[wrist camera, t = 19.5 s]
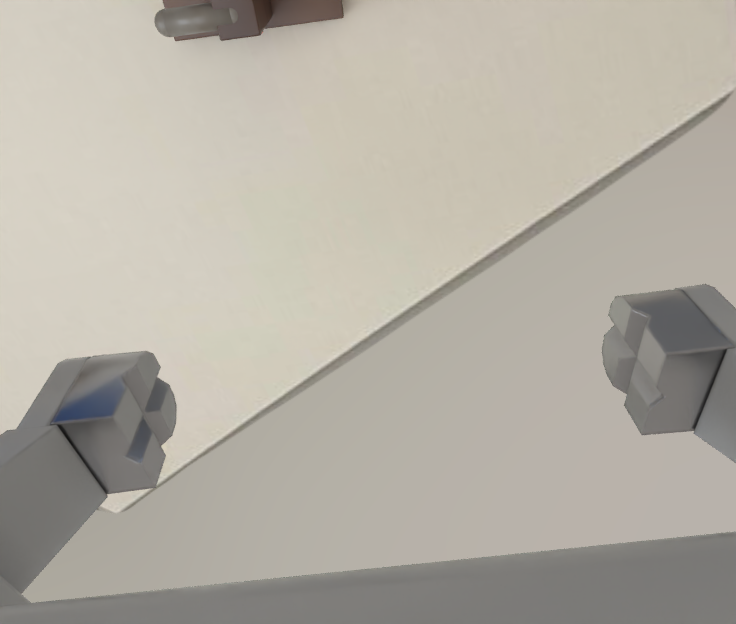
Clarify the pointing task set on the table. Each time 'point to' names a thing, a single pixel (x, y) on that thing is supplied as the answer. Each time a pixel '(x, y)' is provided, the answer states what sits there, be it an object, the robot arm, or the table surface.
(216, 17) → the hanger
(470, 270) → the table surface
